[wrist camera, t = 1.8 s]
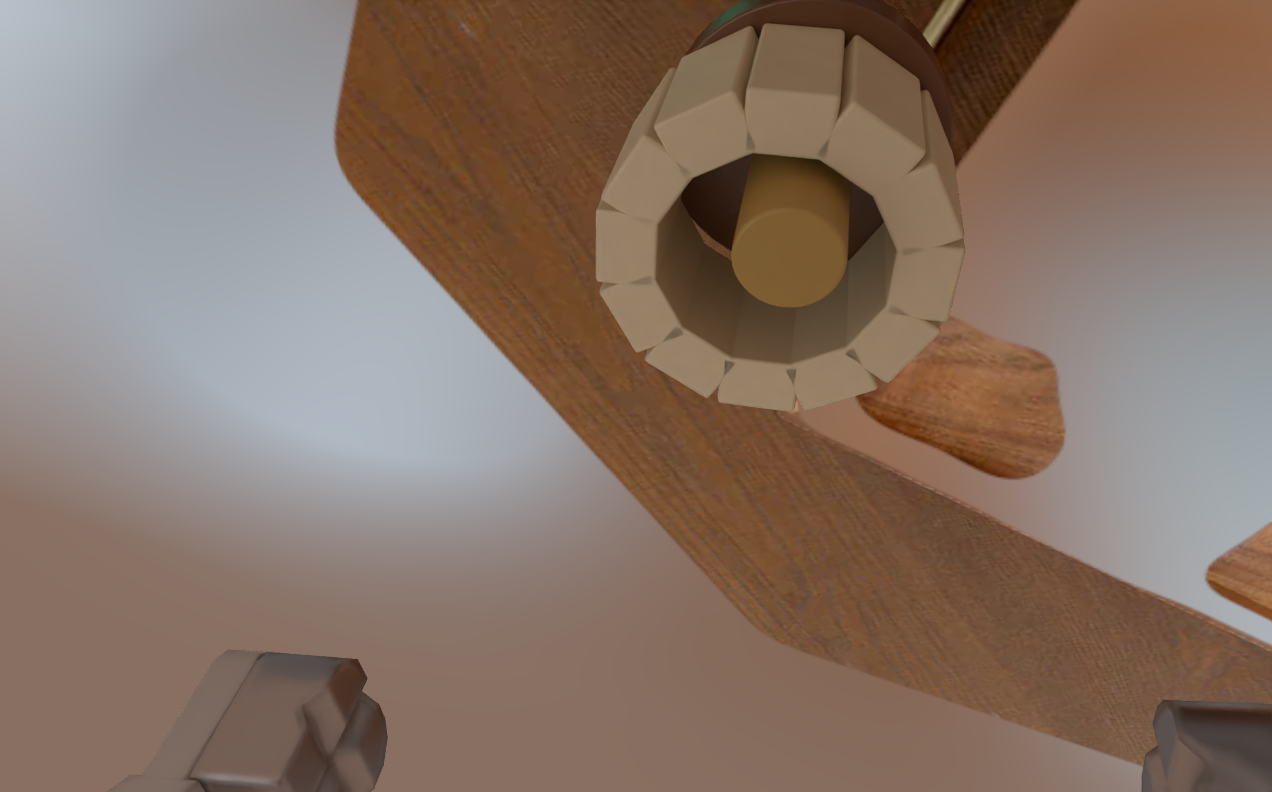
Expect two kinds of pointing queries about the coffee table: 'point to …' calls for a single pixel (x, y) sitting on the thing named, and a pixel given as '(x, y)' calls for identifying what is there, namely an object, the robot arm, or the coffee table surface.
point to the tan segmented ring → (795, 127)
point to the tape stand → (803, 166)
